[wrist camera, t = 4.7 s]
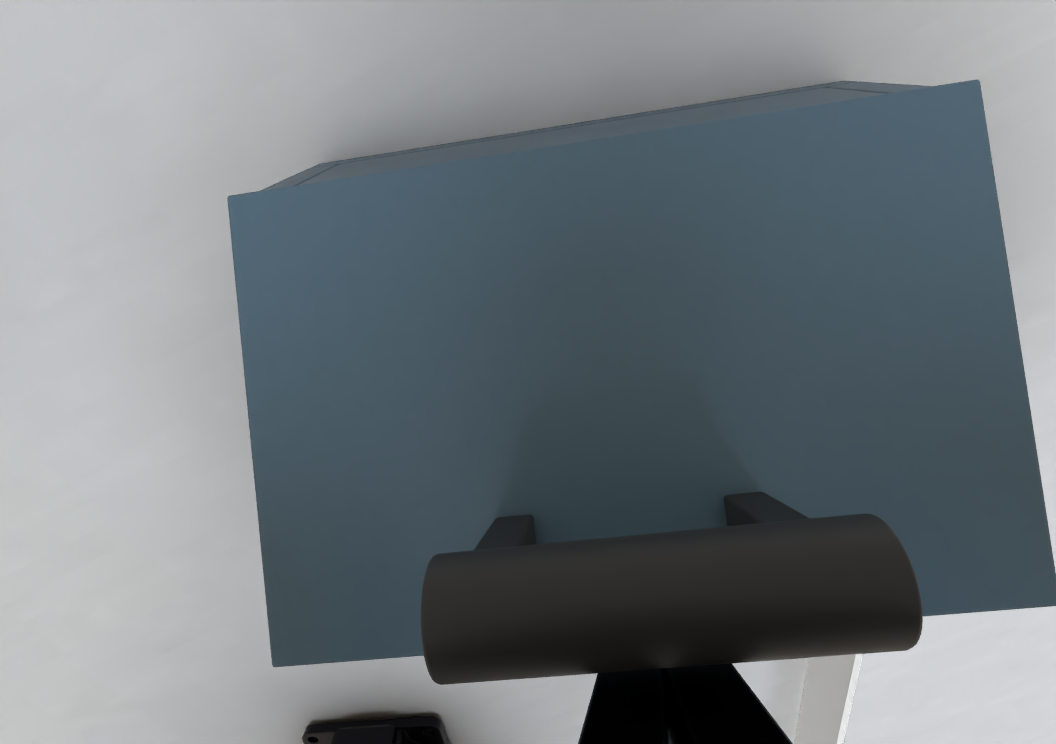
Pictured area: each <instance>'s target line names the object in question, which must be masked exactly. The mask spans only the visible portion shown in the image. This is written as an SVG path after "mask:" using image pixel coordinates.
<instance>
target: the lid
mask: <svg viewBox="0 0 1056 744" xmlns="http://www.w3.org/2000/svg"><path fill="white" fill-rule="evenodd" d="M228 208H229V219H230V229H231V240H232V250H233V260H234V271H235V281H236V292H237V302H238V313H239V323H240V333H241V344H242V354H243V365H244V375H245V386H246V396H247V406H248V417H249V427H250V438H251V448H252V459H253V469H254V479H255V490H256V500H257V511H258V521H259V531H260V542H261V552H262V563H263V573H264V584H265V594H266V604H267V615H268V625H269V636H270V646H271V657H272V665H273V667H283V666H295V665H308V664H321V663H334V662H346V661H359V660H372V659H385V658H397V657H410V656H423V655H424V657H425V661H426V665H427V669H428V672H429V674H430V676H431V678H432V680H433V681H434V682H436V683H438V684H440V685H443V684H456V683H470V682H483V681H497V680H511V679H524V678H538V677H551V676H565V675H579V674H592V673H606V672H619V671H633V670H647V669H660V668H674V667H687V666H701V665H714V664H728V663H742V662H755V661H769V660H782V659H796V658H810V657H823V656H837V655H850V654H864V653H878V652H891V651H904V650H908V649H910V648H912V647H914V646H915V645H916V644H917V642H918V640H919V638H920V635H921V630H922V616H933V615H946V614H959V613H972V612H984V611H997V610H1010V609H1023V608H1035V607H1048V606H1056V573H1055V567H1054V560H1053V554H1052V547H1051V541H1050V534H1049V528H1048V521H1047V515H1046V508H1045V502H1044V495H1043V489H1042V482H1041V476H1040V469H1039V463H1038V456H1037V450H1036V443H1035V437H1034V430H1033V424H1032V418H1031V411H1030V405H1029V398H1028V392H1027V385H1026V379H1025V372H1024V366H1023V359H1022V353H1021V346H1020V340H1019V333H1018V327H1017V320H1016V314H1015V307H1014V301H1013V294H1012V288H1011V281H1010V275H1009V268H1008V262H1007V255H1006V249H1005V242H1004V236H1003V229H1002V223H1001V216H1000V210H999V203H998V197H997V190H996V184H995V177H994V171H993V164H992V158H991V151H990V145H989V138H988V132H987V125H986V119H985V112H984V106H983V99H982V93H981V86H980V81H979V80H971V81H965V82H958V83H952V84H946V85H939V86H933V87H926V88H920V89H913V90H907V91H901V92H894V93H888V94H881V95H875V96H868V97H862V98H856V99H849V100H843V101H836V102H830V103H823V104H817V105H811V106H804V107H798V108H791V109H785V110H778V111H772V112H766V113H759V114H753V115H746V116H740V117H733V118H727V119H721V120H714V121H708V122H701V123H695V124H688V125H682V126H676V127H669V128H663V129H656V130H650V131H643V132H637V133H631V134H624V135H618V136H611V137H605V138H598V139H592V140H586V141H579V142H573V143H566V144H560V145H553V146H547V147H541V148H534V149H528V150H521V151H515V152H508V153H502V154H496V155H489V156H483V157H476V158H470V159H463V160H457V161H451V162H444V163H438V164H431V165H425V166H418V167H412V168H406V169H399V170H393V171H386V172H380V173H373V174H367V175H361V176H354V177H348V178H341V179H335V180H328V181H322V182H316V183H309V184H303V185H296V186H290V187H283V188H277V189H271V190H264V191H258V192H251V193H245V194H238V195H232V196H229V197H228Z"/></svg>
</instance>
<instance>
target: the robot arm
mask: <svg viewBox="0 0 1056 744" xmlns="http://www.w3.org/2000/svg"><path fill="white" fill-rule="evenodd" d="M302 739H303V742H304V743H305V744H449V742H448V739H447V736H446V734H445V731H444V728H443V725H442V723H441V721H440V720H439V719H437V718H435V717H417V718H403V719H388V720H373V721H359V722H344V723H330V724H315V725H309V726H307V727H306V729H305V732H304V735H303V737H302ZM578 744H793V743H792V742H791V741H790V739H789V738H788V737H787V735H786V734H785V733H784V731H783V730H782V729H781V728H780V726H779V725H778V724H777V722H776V721H775V720H774V718H773V717H772V716H771V714H770V713H769V712H768V711H767V709H766V708H765V707H764V705H763V704H762V703H761V701H760V700H759V699H758V697H757V696H756V695H755V694H754V692H753V691H752V690H751V688H750V687H749V686H748V684H747V683H746V682H745V680H744V679H743V678H742V677H741V675H740V674H739V673H738V671H737V670H736V669H735V667H734V666H733V665H732V663H728V664H714V665H701V666H687V667H674V668H660V669H647V670H633V671H619V672H606V673H598V675H597V678H596V682H595V685H594V689H593V692H592V696H591V699H590V703H589V707H588V710H587V714H586V717H585V721H584V724H583V728H582V731H581V735H580V738H579V742H578Z"/></svg>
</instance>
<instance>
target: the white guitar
mask: <svg viewBox="0 0 1056 744" xmlns="http://www.w3.org/2000/svg"><path fill="white" fill-rule="evenodd" d="M862 658H863V654H850V655H837V656H823V657H810V658H809V659H808V665H807V671H806V676H805V682H804V688H803V693H802V699H801V705H800V711H799V716H798V722H797V728H796V733H795V739H794V744H843V743H844V738H845V734H846V729H847V725H848V720H849V716H850V711H851V707H852V702H853V698H854V694H855V689H856V685H857V680H858V676H859V671H860V667H861V662H862Z"/></svg>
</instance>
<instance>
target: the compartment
mask: <svg viewBox="0 0 1056 744" xmlns="http://www.w3.org/2000/svg"><path fill="white" fill-rule="evenodd" d="M926 87H933V86H918V85H902V84H887V83H872V82H855V81H840V82H834V83H827V84H821V85H815V86H808V87H802V88H796V89H789V90H783V91H777V92H770V93H764V94H758V95H751V96H745V97H739V98H733V99H726V100H720V101H714V102H707V103H701V104H695V105H688V106H682V107H676V108H669V109H663V110H657V111H650V112H644V113H638V114H632V115H625V116H619V117H613V118H606V119H600V120H594V121H587V122H581V123H575V124H568V125H562V126H556V127H549V128H543V129H537V130H531V131H524V132H518V133H512V134H505V135H499V136H493V137H486V138H480V139H474V140H467V141H461V142H455V143H448V144H442V145H436V146H430V147H423V148H417V149H411V150H404V151H398V152H392V153H385V154H379V155H373V156H366V157H360V158H354V159H347V160H341V161H335V162H329V163H322V164H318V165H316V166H314V167H312V168H310V169H307V170H305V171H303V172H300V173H298V174H296V175H294V176H292V177H289V178H287V179H285V180H283V181H281V182H279V183H276V184H274V185H272V186H270V187H268V188H265V189H263V190H261V191H264V190H271V189H277V188H283V187H290V186H296V185H303V184H309V183H316V182H322V181H328V180H335V179H341V178H348V177H354V176H361V175H367V174H373V173H380V172H386V171H393V170H399V169H406V168H412V167H418V166H425V165H431V164H438V163H444V162H451V161H457V160H463V159H470V158H476V157H483V156H489V155H496V154H502V153H508V152H515V151H521V150H528V149H534V148H541V147H547V146H553V145H560V144H566V143H573V142H579V141H586V140H592V139H598V138H605V137H611V136H618V135H624V134H631V133H637V132H643V131H650V130H656V129H663V128H669V127H676V126H682V125H688V124H695V123H701V122H708V121H714V120H721V119H727V118H733V117H740V116H746V115H753V114H759V113H766V112H772V111H778V110H785V109H791V108H798V107H804V106H811V105H817V104H823V103H830V102H836V101H843V100H849V99H856V98H862V97H868V96H875V95H881V94H888V93H894V92H901V91H907V90H913V89H920V88H926Z"/></svg>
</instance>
